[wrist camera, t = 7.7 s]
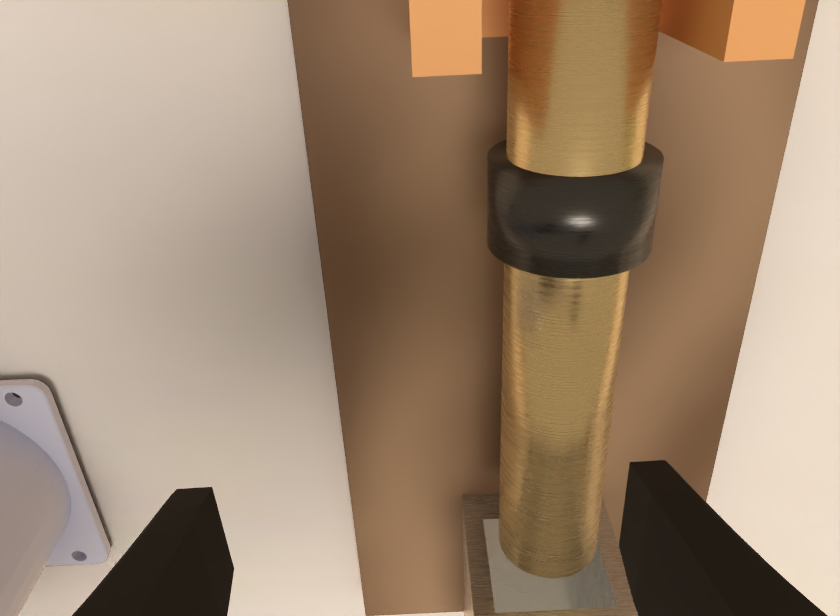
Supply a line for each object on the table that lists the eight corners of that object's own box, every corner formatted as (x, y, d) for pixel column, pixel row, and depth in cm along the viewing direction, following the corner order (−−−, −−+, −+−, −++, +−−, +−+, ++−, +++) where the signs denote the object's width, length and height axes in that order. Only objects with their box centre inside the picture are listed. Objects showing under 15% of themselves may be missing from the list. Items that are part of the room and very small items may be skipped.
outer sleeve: (463, 611, 26) (475, 744, 22) (461, 495, 23) (474, 623, 19) (585, 605, 26) (620, 737, 22) (599, 488, 23) (642, 615, 19)
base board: (367, 593, 27) (365, 615, 26) (255, -319, 14) (245, -333, 13) (674, 578, 27) (683, 601, 26) (868, -349, 14) (901, -367, 13)
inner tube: (479, 496, 22) (492, 593, 19) (479, -89, 14) (502, -89, 11) (593, 490, 22) (625, 587, 19) (660, -99, 14) (734, -101, 11)
